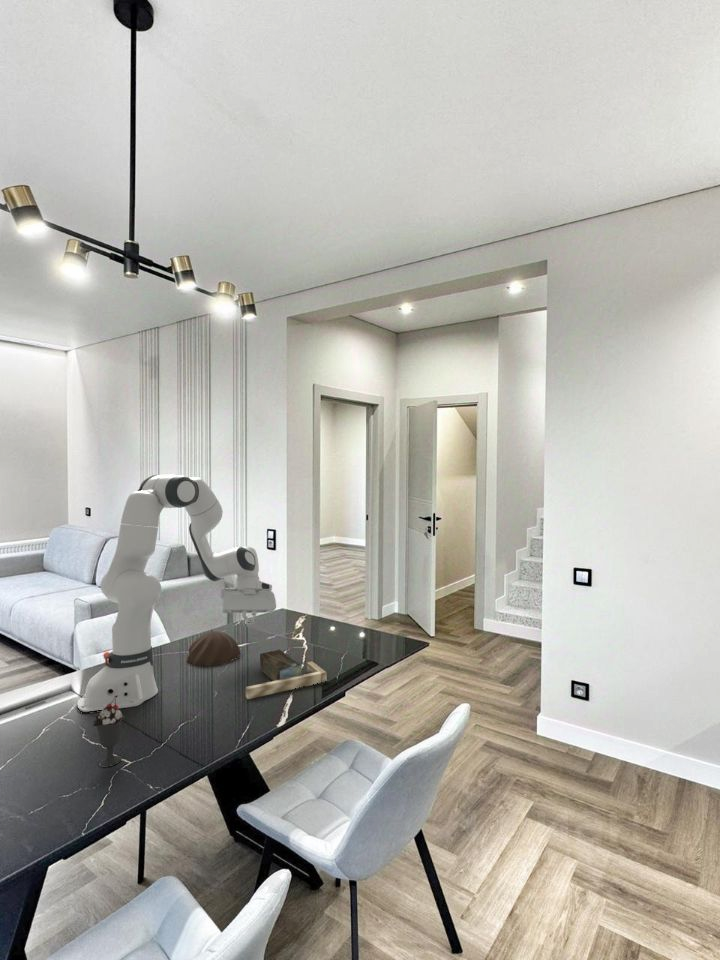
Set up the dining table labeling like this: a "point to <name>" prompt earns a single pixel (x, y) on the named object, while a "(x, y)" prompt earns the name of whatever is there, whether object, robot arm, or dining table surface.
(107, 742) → the sundae
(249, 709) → the dining table surface
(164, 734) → the dining table surface
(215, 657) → the decorative dome
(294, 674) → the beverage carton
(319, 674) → the oak fence
